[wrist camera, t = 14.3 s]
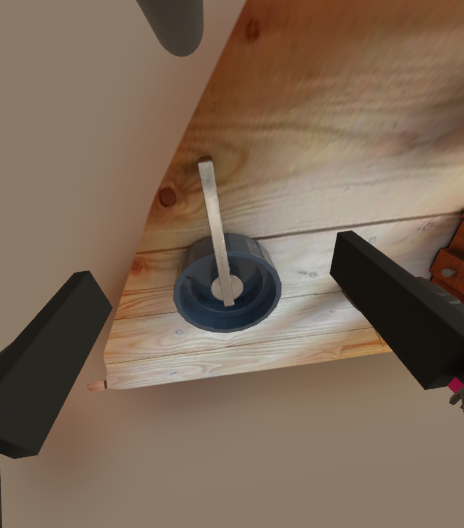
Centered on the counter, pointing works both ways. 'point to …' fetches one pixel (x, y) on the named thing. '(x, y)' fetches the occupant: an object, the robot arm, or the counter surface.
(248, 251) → the bowl
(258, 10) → the counter surface
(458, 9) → the counter surface
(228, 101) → the counter surface
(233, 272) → the bent grey beam
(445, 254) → the milk bottle holder
